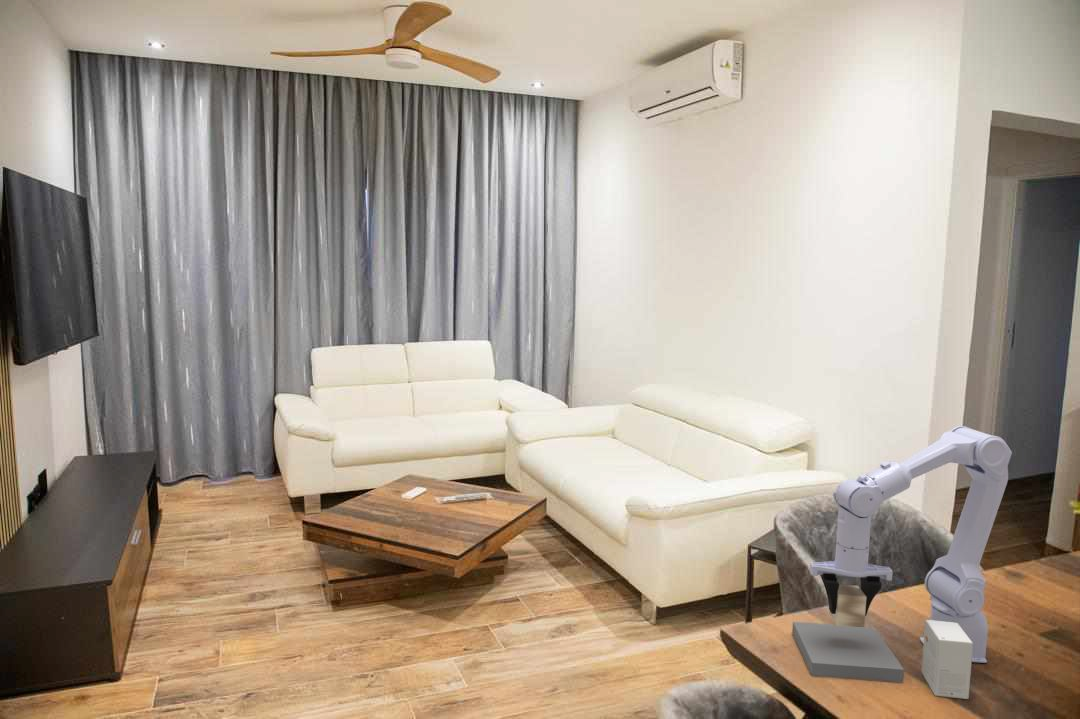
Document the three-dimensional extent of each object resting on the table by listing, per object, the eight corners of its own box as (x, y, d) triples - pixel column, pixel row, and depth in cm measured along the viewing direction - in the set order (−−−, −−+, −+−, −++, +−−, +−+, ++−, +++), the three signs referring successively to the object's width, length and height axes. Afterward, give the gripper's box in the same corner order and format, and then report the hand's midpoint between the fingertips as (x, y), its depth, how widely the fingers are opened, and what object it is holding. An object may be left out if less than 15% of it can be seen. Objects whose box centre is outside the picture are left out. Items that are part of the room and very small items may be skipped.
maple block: (856, 615, 145) (858, 585, 145) (864, 627, 140) (866, 596, 140) (829, 613, 146) (831, 584, 145) (836, 625, 141) (838, 594, 140)
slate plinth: (873, 639, 151) (874, 627, 150) (903, 682, 135) (904, 669, 135) (792, 633, 152) (793, 621, 152) (811, 675, 137) (812, 662, 136)
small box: (968, 700, 130) (974, 643, 128) (933, 696, 131) (939, 639, 130) (953, 676, 138) (958, 621, 136) (920, 672, 139) (925, 618, 137)
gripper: (885, 538, 144) (880, 605, 146) (807, 534, 146) (803, 600, 147) (898, 552, 137) (892, 622, 139) (816, 547, 139) (812, 617, 140)
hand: (847, 612), depth 143 cm, fingers closed on maple block, 5 cm apart
